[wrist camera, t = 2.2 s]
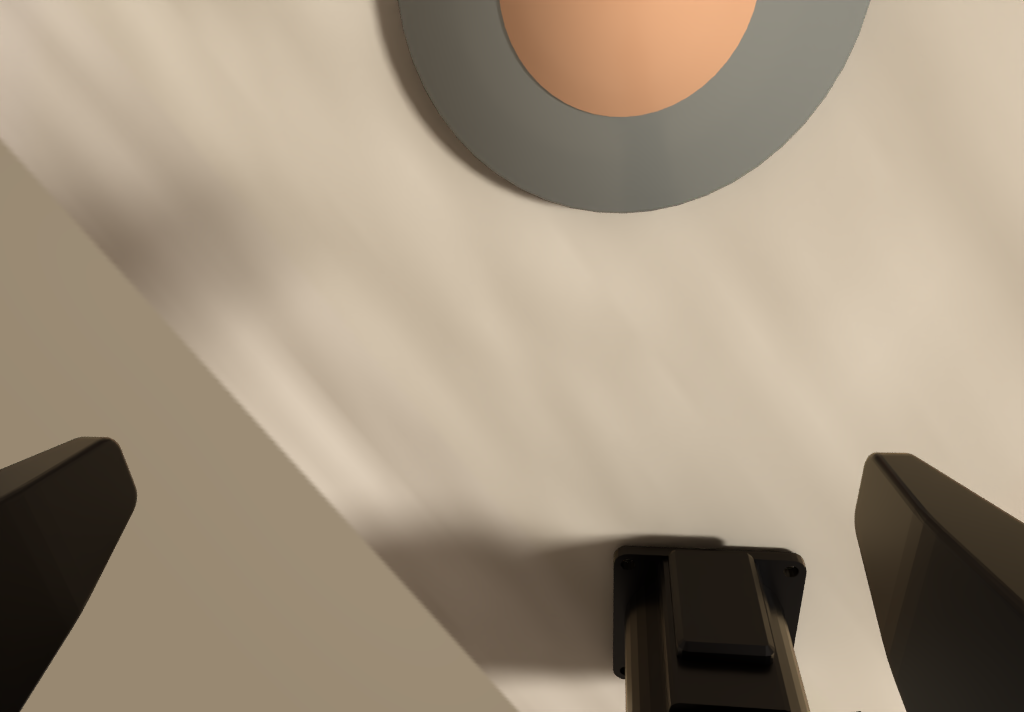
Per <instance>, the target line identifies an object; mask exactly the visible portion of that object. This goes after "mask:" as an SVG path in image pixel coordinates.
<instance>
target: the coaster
mask: <svg viewBox="0 0 1024 712" xmlns="http://www.w3.org/2000/svg"><path fill="white" fill-rule="evenodd" d="M869 3H870V0H398V4H399V9H400V15H401V20H402V26H403V31H404V34H405V38H406V41H407V44H408V48H409V51H410V54H411V57H412V61H413V63H414V65H415V68H416V70H417V72H418V75H419V77H420V79H421V82H422V84H423V86H424V88H425V90H426V92H427V94H428V95H429V97H430V99H431V101H432V102H433V104H434V106H435V107H436V109H437V111H438V113H439V114H440V116H441V117H442V118H443V120H444V121H445V122H446V124H447V125H448V126H449V128H450V129H451V130H452V132H453V133H454V134H455V136H456V137H457V138H458V139H459V140H460V141H461V142H462V143H463V144H464V145H465V146H466V147H467V148H468V149H469V150H470V151H471V153H472V154H473V155H474V156H475V157H476V158H478V159H479V160H480V161H481V162H482V163H484V164H485V165H486V166H487V167H489V168H490V169H491V170H492V171H494V172H495V173H496V174H497V175H499V176H501V177H502V178H504V179H505V180H507V181H509V182H510V183H512V184H514V185H515V186H517V187H518V188H520V189H522V190H524V191H526V192H529V193H531V194H533V195H535V196H537V197H540V198H542V199H544V200H547V201H550V202H553V203H557V204H560V205H563V206H567V207H570V208H575V209H581V210H587V211H593V212H604V213H633V212H645V211H653V210H658V209H663V208H667V207H672V206H677V205H680V204H683V203H686V202H689V201H692V200H695V199H698V198H701V197H704V196H706V195H708V194H710V193H713V192H715V191H717V190H719V189H721V188H723V187H725V186H727V185H729V184H731V183H733V182H735V181H736V180H738V179H739V178H741V177H742V176H744V175H745V174H747V173H749V172H750V171H752V170H753V169H755V168H756V167H758V166H759V165H760V164H762V163H763V162H764V161H765V160H767V159H768V158H769V157H770V156H771V155H773V154H774V153H775V152H776V151H778V150H779V149H780V148H781V147H782V146H783V145H784V144H785V143H786V142H787V141H788V140H789V139H790V138H791V137H792V136H793V135H794V134H795V133H796V132H797V131H798V130H799V129H800V128H801V127H802V126H803V125H804V124H805V123H806V122H807V120H808V119H809V118H810V116H811V115H812V114H813V113H814V111H815V110H816V109H817V107H818V106H819V105H820V104H821V102H822V101H823V100H824V98H825V97H826V96H827V94H828V92H829V91H830V89H831V87H832V86H833V84H834V82H835V81H836V79H837V78H838V76H839V74H840V73H841V71H842V69H843V68H844V66H845V64H846V62H847V59H848V57H849V55H850V53H851V51H852V49H853V47H854V44H855V42H856V40H857V38H858V36H859V33H860V30H861V27H862V24H863V21H864V18H865V15H866V12H867V9H868V6H869Z"/></svg>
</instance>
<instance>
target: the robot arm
mask: <svg viewBox="0 0 1024 712" xmlns="http://www.w3.org/2000/svg"><path fill="white" fill-rule="evenodd" d="M136 501H137V490H136V487H135V484H134V481H133V478H132V476H131V474H130V471H129V468H128V465H127V463H126V461H125V458H124V455H123V453H122V450H121V448H120V446H119V444H118V443H117V442H116V441H115V440H113V439H111V438H108V437H80V438H76V439H73V440H71V441H68V442H66V443H63V444H61V445H58V446H56V447H54V448H51V449H49V450H47V451H44V452H42V453H39V454H37V455H35V456H32V457H30V458H27V459H25V460H22V461H20V462H17V463H15V464H13V465H10V466H8V467H5V468H3V469H0V712H20V711H21V709H22V707H23V706H24V704H25V703H26V701H27V700H28V698H29V696H30V695H31V693H32V691H33V690H34V688H35V687H36V685H37V684H38V682H39V681H40V679H41V677H42V676H43V674H44V673H45V671H46V670H47V668H48V666H49V665H50V663H51V661H52V660H53V658H54V657H55V655H56V654H57V652H58V650H59V649H60V647H61V646H62V644H63V642H64V641H65V639H66V638H67V636H68V634H69V633H70V631H71V630H72V628H73V626H74V624H75V623H76V621H77V619H78V618H79V616H80V614H81V613H82V611H83V609H84V607H85V605H86V603H87V601H88V600H89V598H90V596H91V594H92V592H93V590H94V588H95V586H96V584H97V582H98V580H99V578H100V576H101V574H102V572H103V570H104V568H105V566H106V564H107V562H108V560H109V558H110V556H111V554H112V552H113V550H114V548H115V546H116V544H117V542H118V540H119V538H120V536H121V534H122V533H123V531H124V529H125V527H126V525H127V523H128V521H129V519H130V517H131V515H132V513H133V511H134V508H135V505H136ZM855 531H856V536H857V540H858V544H859V548H860V552H861V556H862V560H863V564H864V568H865V572H866V576H867V580H868V584H869V588H870V592H871V596H872V600H873V605H874V609H875V613H876V617H877V621H878V625H879V629H880V633H881V637H882V641H883V644H884V648H885V652H886V655H887V659H888V662H889V665H890V668H891V671H892V674H893V677H894V679H895V682H896V685H897V688H898V690H899V693H900V696H901V698H902V701H903V704H904V706H905V709H906V712H1024V523H1023V522H1021V521H1019V520H1018V519H1016V518H1015V517H1013V516H1011V515H1010V514H1008V513H1007V512H1005V511H1003V510H1002V509H1000V508H998V507H997V506H995V505H994V504H992V503H990V502H989V501H987V500H985V499H984V498H982V497H981V496H979V495H977V494H976V493H974V492H973V491H971V490H969V489H968V488H966V487H964V486H963V485H961V484H960V483H958V482H956V481H955V480H953V479H951V478H950V477H948V476H947V475H945V474H943V473H942V472H940V471H939V470H937V469H935V468H934V467H932V466H930V465H929V464H927V463H926V462H924V461H922V460H921V459H919V458H917V457H916V456H914V455H912V454H909V453H877V452H876V453H872V454H871V455H870V456H868V458H867V460H866V462H865V465H864V469H863V474H862V479H861V484H860V489H859V494H858V499H857V504H856V509H855ZM626 559H629V560H632V562H625V561H623V560H626ZM789 566H794V567H793V568H791V569H786V568H787V567H789ZM805 578H806V567H805V563H804V560H803V559H802V557H801V556H800V555H798V554H796V553H791V552H767V551H742V550H716V549H691V548H666V547H641V546H624V547H621V548H618V549H617V550H616V551H615V553H614V624H613V671H614V674H615V675H616V676H617V677H619V678H621V679H625V690H626V712H810V709H809V705H808V701H807V697H806V694H805V690H804V686H803V682H802V679H801V675H800V671H799V667H798V663H797V660H796V656H795V652H794V643H795V637H796V631H797V625H798V619H799V613H800V608H801V602H802V596H803V590H804V584H805ZM858 712H861V711H858Z"/></svg>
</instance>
